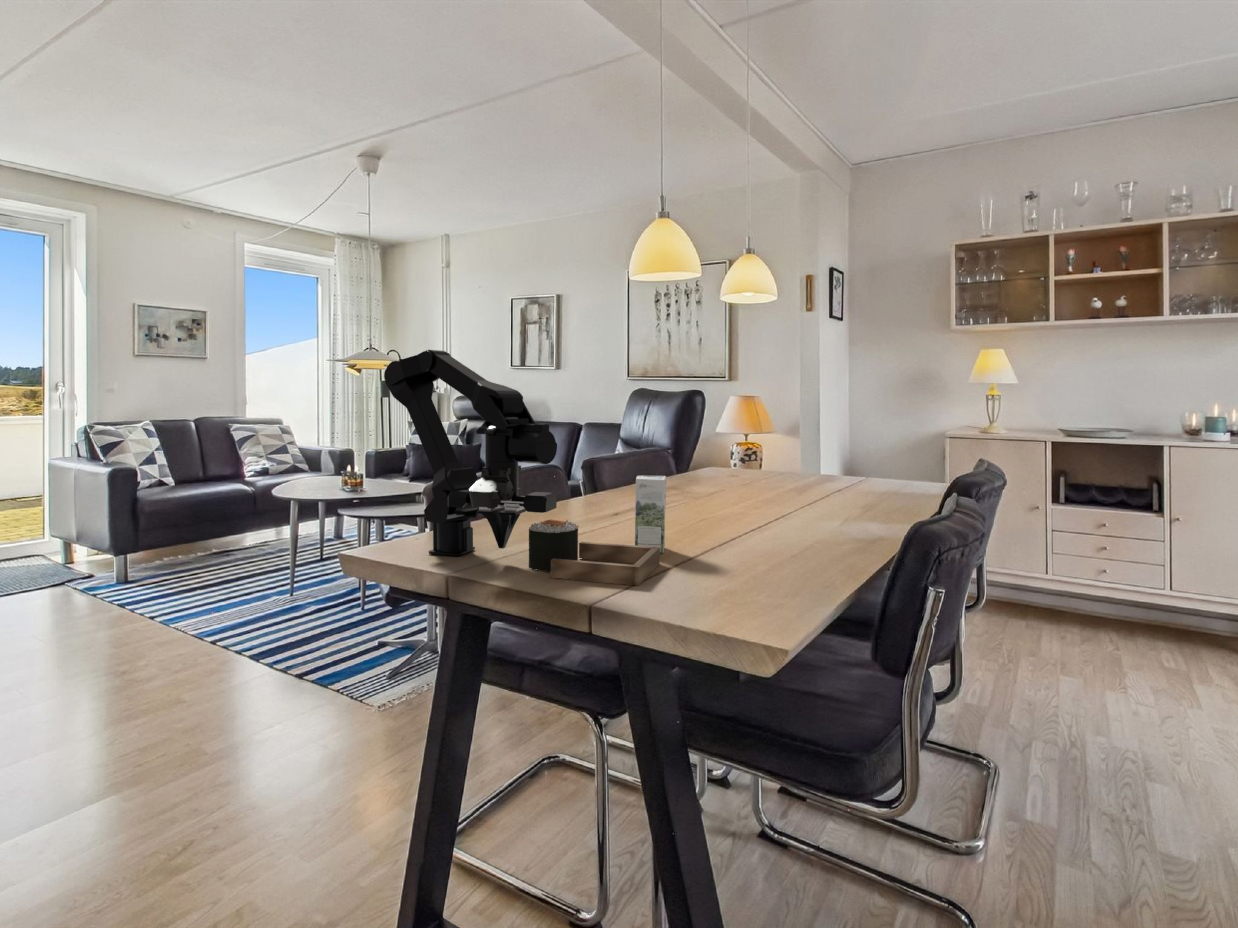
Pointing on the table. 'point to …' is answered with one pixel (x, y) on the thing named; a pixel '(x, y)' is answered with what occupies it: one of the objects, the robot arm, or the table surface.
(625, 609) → the table surface
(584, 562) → the tray
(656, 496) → the syrup box
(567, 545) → the sushi
